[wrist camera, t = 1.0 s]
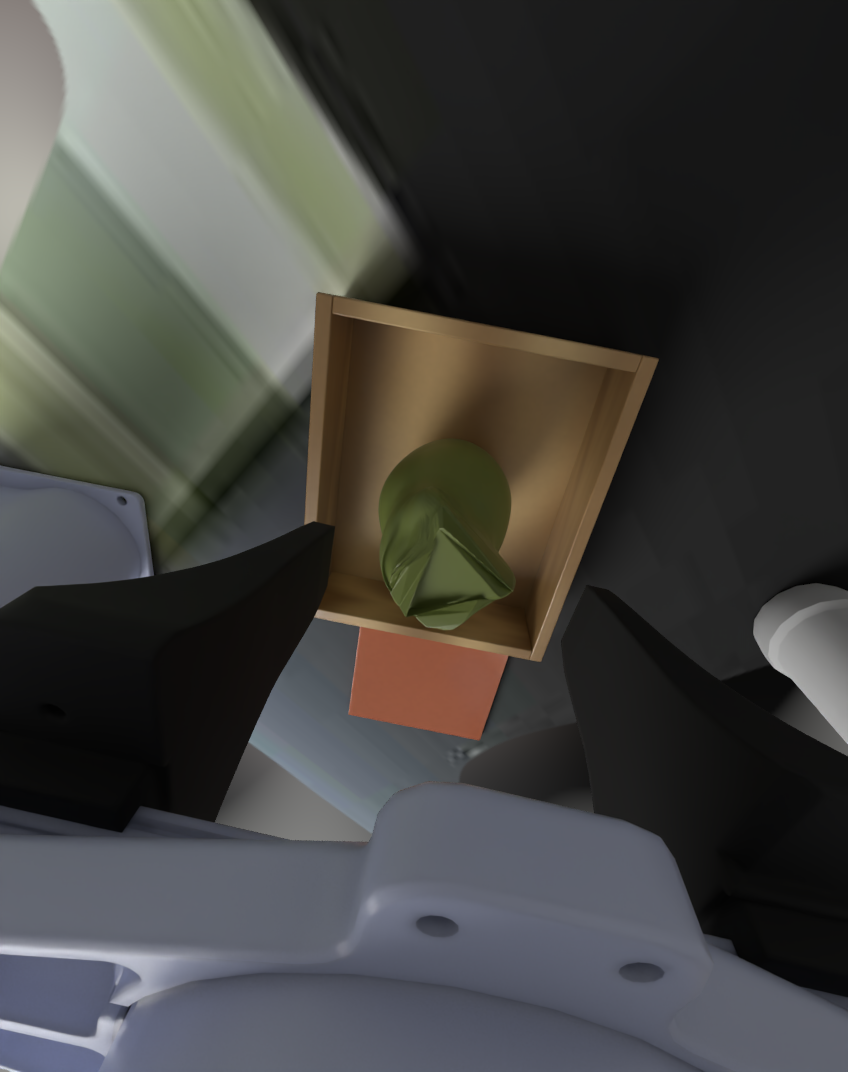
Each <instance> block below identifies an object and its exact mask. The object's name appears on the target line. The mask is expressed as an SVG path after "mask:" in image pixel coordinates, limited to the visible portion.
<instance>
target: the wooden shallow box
mask: <svg viewBox="0 0 848 1072" xmlns="http://www.w3.org/2000/svg"><path fill="white" fill-rule="evenodd" d="M658 361H659V359H658V358H655V357H650V356H646V355H641V354H636V353H632V352H627V351H622V350H617V349H612V348H607V347H601V346H596V345H591V344H586V343H581V342H576V341H570V340H565V339H560V338H555V337H550V336H545V335H540V334H534V333H529V332H524V331H519V330H514V329H509V328H503V327H498V326H493V325H488V324H483V323H478V322H473V321H467V320H462V319H457V318H452V317H447V316H442V315H436V314H431V313H426V312H421V311H416V310H411V309H406V308H400V307H395V306H390V305H385V304H380V303H375V302H369V301H364V300H359V299H354V298H349V297H344V296H338V295H332V294H326V293H320V292H318V293H317V294H316V311H315V330H314V349H313V368H312V388H311V407H310V426H309V445H308V465H307V484H306V503H305V522H304V525H306V524H308V523H311V522H313V521H315V522H319V523H323V524H328V525H332V526H335V531H334V539H333V546H332V554H331V562H330V569H329V577H328V585H327V588H326V591H325V593H324V596H323V598H322V601H321V603H320V605H319V608H318V610H317V612H316V615H315V616H314V618H319V619H325V620H330V621H335V622H340V623H345V624H350V625H355V626H360V627H365V628H370V629H375V630H380V631H385V632H391V633H396V634H401V635H406V636H411V637H416V638H421V639H426V640H431V641H436V642H441V643H446V644H452V645H457V646H462V647H467V648H472V649H477V650H482V651H487V652H492V653H497V654H502V655H507V656H513V657H518V658H523V659H529V658H530V660H533V661H538V662H541V661H542V658H543V655H544V653H545V650H546V648H547V645H548V643H549V640H550V637H551V635H552V632H553V630H554V627H555V625H556V622H557V620H558V617H559V614H560V612H561V609H562V607H563V604H564V602H565V599H566V596H567V594H568V591H569V589H570V586H571V584H572V581H573V579H574V576H575V573H576V571H577V568H578V566H579V563H580V561H581V558H582V555H583V553H584V550H585V548H586V545H587V543H588V540H589V538H590V535H591V532H592V530H593V527H594V525H595V522H596V520H597V517H598V514H599V512H600V509H601V507H602V504H603V502H604V499H605V497H606V494H607V491H608V489H609V486H610V484H611V481H612V479H613V476H614V473H615V471H616V468H617V466H618V463H619V461H620V458H621V456H622V453H623V450H624V448H625V445H626V443H627V440H628V438H629V435H630V432H631V430H632V427H633V425H634V422H635V420H636V417H637V415H638V412H639V409H640V407H641V404H642V402H643V399H644V397H645V394H646V391H647V389H648V386H649V384H650V381H651V379H652V376H653V374H654V371H655V368H656V366H657V363H658ZM448 438H453V439H461V440H465V441H468V442H471V443H473V444H475V445H477V446H479V447H480V448H482V449H483V450H485V451H486V452H487V453H488V454H490V455H491V456H492V457H493V458H494V460H495V461H496V462H497V463H498V464H499V466H500V467H501V469H502V470H503V472H504V474H505V476H506V478H507V481H508V484H509V487H510V492H511V514H510V520H509V525H508V529H507V532H506V535H505V538H504V541H503V544H502V546H501V548H500V550H499V554H500V556H501V557H502V558H503V559H504V560H505V562H506V563H507V564H508V566H509V567H510V569H511V570H512V572H513V573H514V576H515V579H516V583H515V588H514V590H513V592H511V593H510V594H509V595H508V596H506V597H504V598H501V599H497V600H495V601H493V602H492V603H490V604H489V605H487V606H486V607H484V608H482V609H480V610H479V611H478V612H476V613H475V614H473V615H472V616H471V617H470V618H469V619H468V620H466V621H465V622H464V623H463V624H461V625H460V626H458V627H457V628H455V629H452V630H441V629H437V628H428V627H426V626H424V625H423V624H422V623H421V622H420V621H419V620H418V619H417V618H416V617H414V616H410V617H408V618H407V617H405V615H404V614H403V612H402V610H401V609H400V607H399V606H398V605H397V604H396V603H395V601H394V600H393V598H392V596H391V594H390V593H391V592H390V591H389V589H388V588H387V586H386V584H385V582H384V579H383V576H382V571H381V567H380V559H379V552H380V543H381V538H382V532H381V528H380V523H379V513H378V507H379V498H380V494H381V491H382V488H383V485H384V483H385V481H386V479H387V478H388V476H389V474H390V473H391V472H392V470H393V469H394V468H395V467H396V465H397V464H398V463H399V462H400V461H401V460H402V459H403V458H405V457H406V456H407V455H408V454H410V453H411V452H412V451H414V450H415V449H417V448H419V447H421V446H423V445H425V444H427V443H429V442H432V441H436V440H440V439H448Z"/></svg>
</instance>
